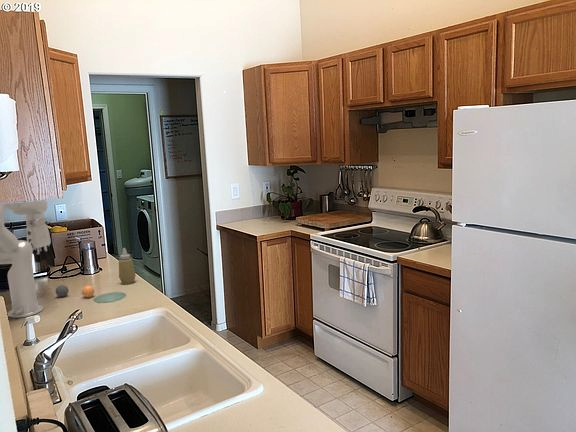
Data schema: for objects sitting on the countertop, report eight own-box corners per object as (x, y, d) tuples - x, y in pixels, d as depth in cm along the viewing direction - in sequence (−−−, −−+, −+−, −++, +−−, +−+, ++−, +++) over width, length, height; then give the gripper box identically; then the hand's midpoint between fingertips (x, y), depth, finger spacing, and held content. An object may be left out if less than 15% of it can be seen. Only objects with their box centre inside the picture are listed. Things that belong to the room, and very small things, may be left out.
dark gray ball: (65, 298, 219) (64, 286, 218) (54, 298, 219) (52, 287, 218) (71, 294, 224) (69, 283, 224) (60, 294, 225) (58, 283, 224)
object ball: (92, 298, 216) (90, 287, 215) (80, 299, 216) (78, 287, 215) (97, 294, 221) (95, 283, 220) (85, 295, 221) (84, 284, 221)
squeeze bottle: (122, 286, 233) (117, 250, 230) (117, 282, 239) (113, 248, 236) (138, 282, 237) (134, 248, 234) (133, 279, 244) (130, 245, 241)
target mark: (118, 302, 209) (118, 301, 209) (88, 303, 210) (87, 303, 210) (130, 292, 223) (130, 291, 223) (101, 293, 223) (101, 292, 223)
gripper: (29, 226, 209) (35, 266, 212) (55, 219, 225) (60, 256, 228) (15, 226, 211) (21, 266, 214) (41, 219, 227) (47, 256, 230)
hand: (41, 260), depth 221 cm, fingers open, 3 cm apart
